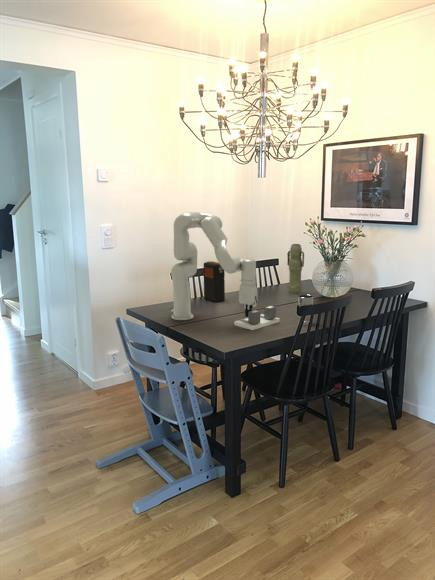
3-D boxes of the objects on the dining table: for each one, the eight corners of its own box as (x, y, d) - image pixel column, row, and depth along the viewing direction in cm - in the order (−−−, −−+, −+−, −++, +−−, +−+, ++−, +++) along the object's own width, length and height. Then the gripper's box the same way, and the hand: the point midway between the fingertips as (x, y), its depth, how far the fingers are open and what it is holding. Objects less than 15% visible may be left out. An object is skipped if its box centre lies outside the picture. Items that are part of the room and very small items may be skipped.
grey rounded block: (248, 323, 243) (248, 311, 242) (254, 321, 247) (254, 309, 246) (253, 324, 241) (253, 312, 239) (260, 322, 244) (260, 311, 243)
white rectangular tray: (234, 325, 249) (234, 321, 248) (261, 317, 263) (261, 313, 263) (252, 330, 239) (252, 326, 239) (279, 322, 254) (279, 318, 253)
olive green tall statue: (288, 292, 328) (289, 243, 320) (305, 294, 322) (306, 243, 315) (284, 295, 320) (285, 244, 313) (300, 296, 314) (302, 245, 307)
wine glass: (314, 324, 249) (315, 297, 246) (301, 325, 246) (302, 298, 243) (308, 320, 256) (308, 294, 253) (294, 321, 254) (295, 295, 251)
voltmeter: (226, 301, 304) (226, 263, 299) (215, 303, 299) (215, 264, 294) (213, 297, 317) (212, 260, 311) (202, 298, 312) (201, 261, 307)
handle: (264, 318, 252) (264, 307, 251) (270, 316, 256) (270, 305, 254) (269, 319, 249) (269, 308, 248) (275, 317, 253) (275, 306, 252)
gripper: (233, 281, 245) (233, 315, 249) (254, 285, 235) (254, 320, 238) (243, 279, 250) (243, 312, 254) (264, 283, 240) (263, 317, 243)
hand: (248, 316), depth 246 cm, fingers closed
